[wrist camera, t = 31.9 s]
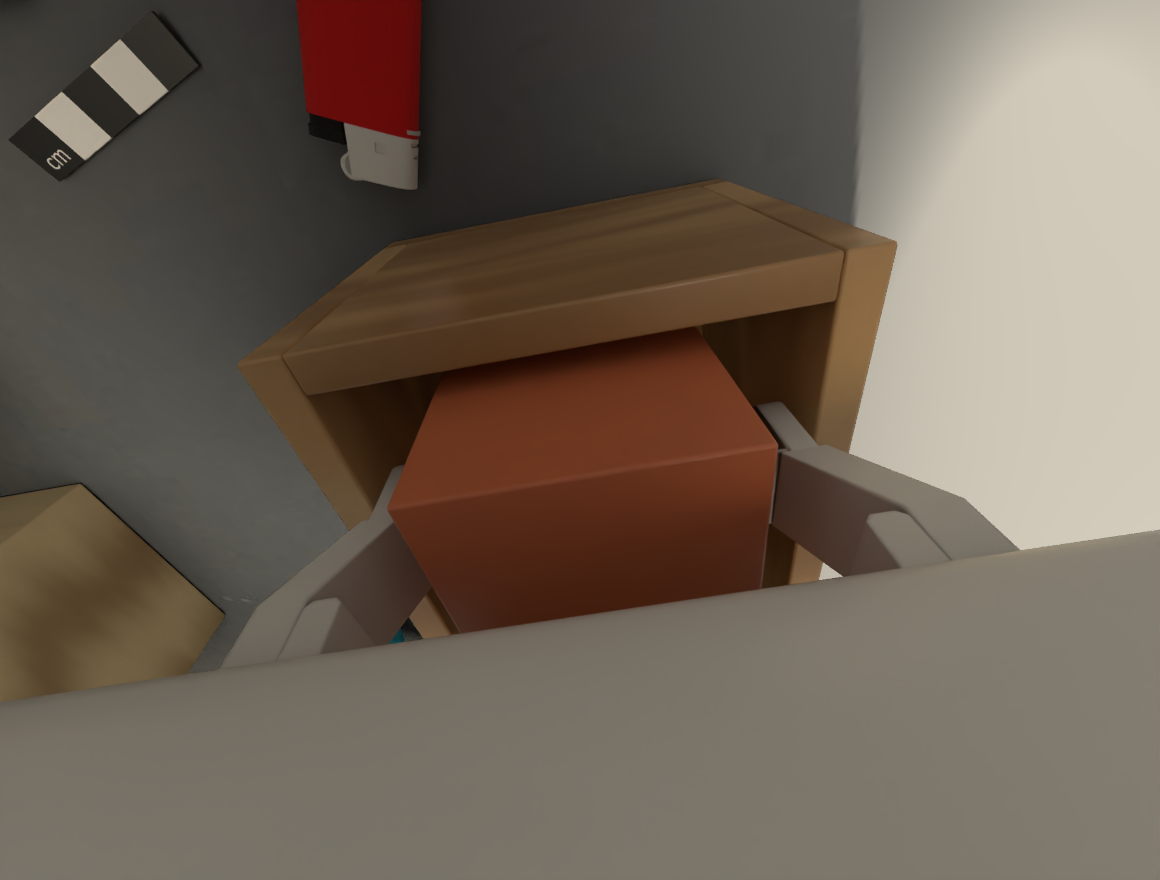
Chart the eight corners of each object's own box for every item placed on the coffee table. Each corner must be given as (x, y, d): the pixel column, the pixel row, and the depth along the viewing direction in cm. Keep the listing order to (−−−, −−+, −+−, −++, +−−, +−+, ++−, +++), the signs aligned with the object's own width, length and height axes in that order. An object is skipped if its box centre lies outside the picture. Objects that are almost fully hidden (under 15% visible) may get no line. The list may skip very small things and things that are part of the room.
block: (452, 346, 10) (383, 509, 6) (681, 303, 9) (780, 443, 5) (511, 508, 13) (493, 693, 9) (688, 480, 12) (755, 655, 8)
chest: (389, 242, 14) (232, 364, 7) (720, 177, 14) (901, 239, 7) (502, 529, 22) (480, 723, 15) (715, 496, 22) (796, 680, 15)
